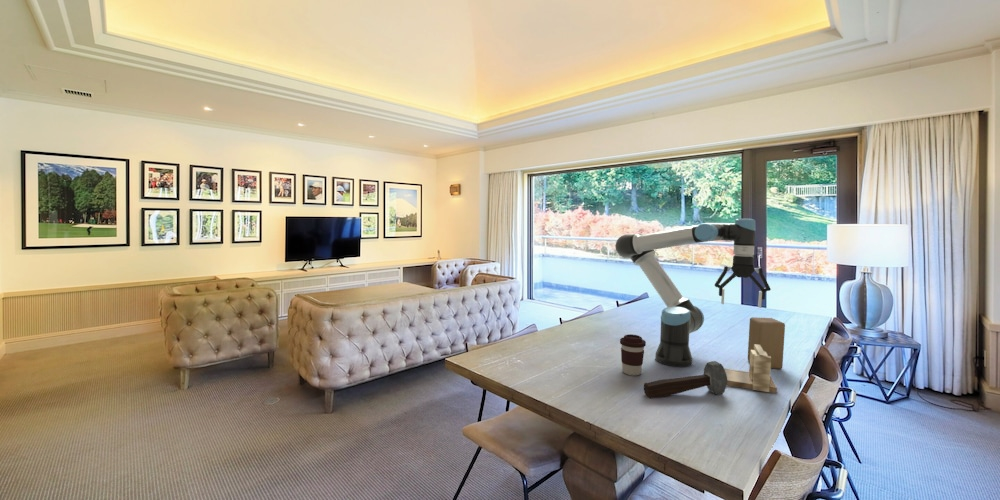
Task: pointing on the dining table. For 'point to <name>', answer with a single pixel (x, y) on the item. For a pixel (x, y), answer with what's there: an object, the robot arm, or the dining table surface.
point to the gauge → (760, 368)
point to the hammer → (690, 382)
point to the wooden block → (768, 338)
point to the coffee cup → (632, 354)
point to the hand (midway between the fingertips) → (740, 305)
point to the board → (744, 380)
